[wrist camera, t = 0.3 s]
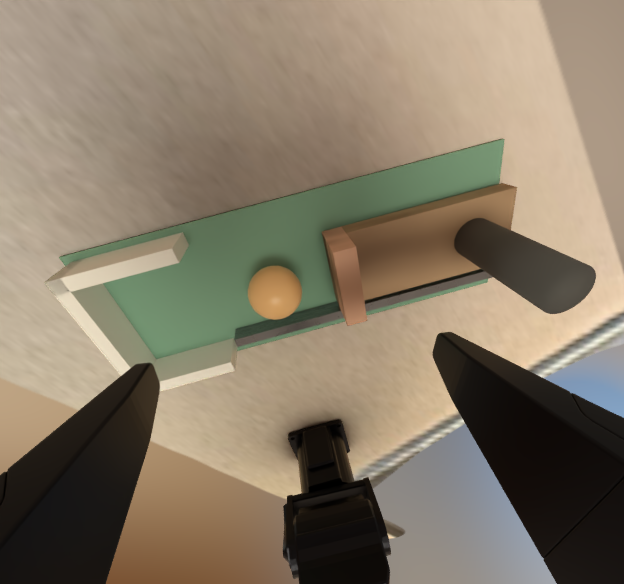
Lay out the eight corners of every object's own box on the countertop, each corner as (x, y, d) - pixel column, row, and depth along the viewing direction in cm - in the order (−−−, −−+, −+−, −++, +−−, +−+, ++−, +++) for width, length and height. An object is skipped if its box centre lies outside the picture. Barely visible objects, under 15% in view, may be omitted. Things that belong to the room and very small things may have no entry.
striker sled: (493, 254, 25) (604, 319, 17) (335, 297, 25) (371, 383, 17) (502, 183, 22) (643, 221, 14) (321, 231, 22) (358, 299, 14)
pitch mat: (485, 281, 27) (487, 282, 27) (148, 373, 27) (148, 375, 26) (502, 138, 21) (504, 138, 21) (60, 256, 20) (59, 257, 20)
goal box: (237, 346, 26) (235, 370, 24) (150, 370, 26) (139, 397, 24) (182, 232, 21) (171, 248, 18) (70, 262, 20) (43, 282, 18)
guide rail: (494, 265, 26) (506, 273, 25) (238, 335, 26) (237, 347, 24) (495, 257, 26) (507, 265, 24) (235, 328, 25) (234, 339, 24)
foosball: (303, 293, 25) (311, 322, 21) (257, 306, 24) (257, 336, 21) (292, 251, 22) (297, 274, 19) (241, 264, 22) (238, 290, 19)
